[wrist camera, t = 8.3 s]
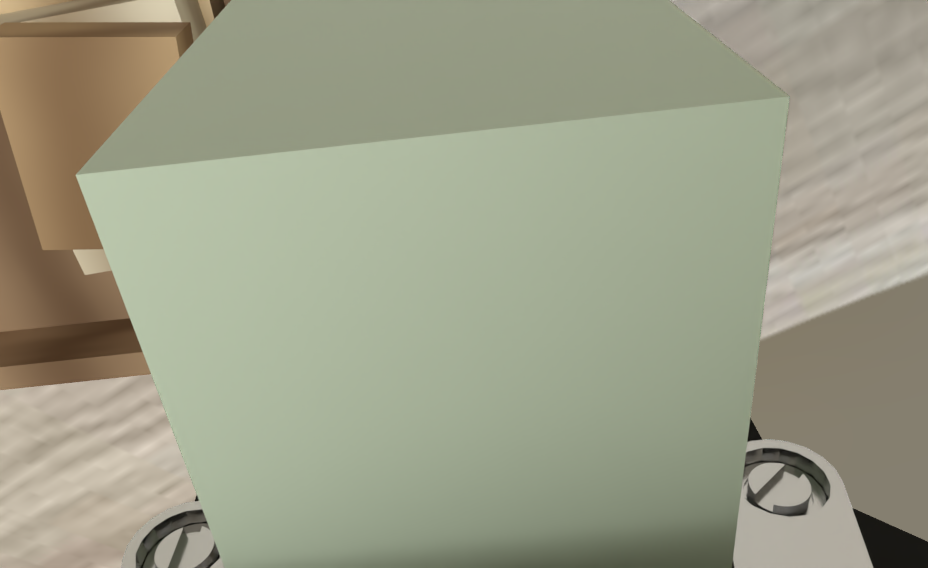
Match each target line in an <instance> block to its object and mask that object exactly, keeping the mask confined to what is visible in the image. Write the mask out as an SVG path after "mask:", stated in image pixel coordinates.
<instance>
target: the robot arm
mask: <svg viewBox="0 0 928 568" xmlns="http://www.w3.org/2000/svg"><path fill="white" fill-rule="evenodd" d="M121 568H225V567H224V565H223V562H222V559H221V557H220V554H219V552H218V549H217V546H216V544H215V541H214V538H213V536H212V533H211V530H210V528H209V525H208V523H207V520H206V517H205V515H204V512H203V509H202V507H201V504H200V501H199V499H198V496H196V499H195V502H187V503H184V504H181V505H178V506H175V507H172V508H170V509H167V510H166V511H164V512H162V513H161V514H159V515H157V516H155V517H154V518H152V519H151V520H150V521H149V522H147V523H146V524H145V525H144V526H143V527H142V528H141V529H140V530H138V531H137V533H136V534H135V535H134V537H133V538H132V540H131V541H130V542H129V544H128V545H127V548H126V551H125V554H124V557H123V560H122V565H121ZM732 568H928V542H927V541H925V540H923V539H921V538H918V537H916V536H914V535H912V534H909V533H907V532H905V531H903V530H900V529H898V528H896V527H894V526H891V525H889V524H887V523H885V522H882V521H880V520H878V519H876V518H873V517H871V516H869V515H866V514H864V513H862V512H860V511H858V510H856V509H853V508H852V507H851V503H850V500H849V498H848V495H847V492H846V489H845V486H844V484H843V481H842V480H841V478H840V476H839V474H838V473H837V471H836V469H835V468H834V467H833V466H832V465H831V464H829V463H828V462H827V461H826V460H825V459H824V458H823V457H822V456H820V455H818V454H816V453H815V452H813V451H811V450H809V449H808V448H806V447H802V446H800V445H796V444H793V443H791V442H787V441H778V440H770V439H767V440H762V439H761V437H760V435H759V433H758V431H757V429H756V427H755V426H754V424H753V422H752V420H751V418H750V424H749V432H748V440H747V448H746V457H745V465H744V473H743V481H742V489H741V497H740V505H739V513H738V521H737V530H736V538H735V546H734V554H733V562H732Z"/></svg>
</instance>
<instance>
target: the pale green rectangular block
mask: <svg viewBox="0 0 928 568" xmlns="http://www.w3.org/2000/svg"><path fill="white" fill-rule="evenodd" d="M789 99H790V96H789V95H787V94H786V93H785V92H784V91H782V90H781V89H780V88H779V87H777V86H776V85H775V84H774V83H772V82H771V81H770V80H769V79H767V78H766V77H765V76H764V75H762V74H761V73H760V72H759V71H757V70H756V69H755V68H753V67H752V66H751V65H750V64H748V63H747V62H746V61H745V60H743V59H742V58H741V57H740V56H738V55H737V54H736V53H735V52H733V51H732V50H731V49H730V48H728V47H727V46H726V45H725V44H723V43H722V42H721V41H720V40H718V39H717V38H716V37H715V36H713V35H712V34H711V33H710V32H708V31H707V30H706V29H704V28H703V27H702V26H701V25H699V24H698V23H697V22H696V21H694V20H693V19H692V18H691V17H689V16H688V15H687V14H686V13H684V12H683V11H682V10H681V9H679V8H678V7H677V6H676V5H674V4H673V3H672V2H671V1H669V0H231V1H230V2H229V3H228V4H227V6H226V7H225V8H224V9H223V10H222V11H221V12H220V13H219V15H218V16H217V17H216V18H215V19H214V20H213V21H212V22H211V23H210V25H209V26H208V27H207V28H206V29H205V30H204V31H203V32H202V34H201V35H200V36H199V37H198V38H197V39H196V40H195V41H194V43H193V44H192V45H191V46H190V47H189V48H188V49H187V50H186V52H185V53H184V54H183V55H182V56H181V57H180V58H179V59H178V61H177V62H176V63H175V64H174V65H173V66H172V67H171V68H170V70H169V71H168V72H167V73H166V74H165V75H164V76H163V77H162V78H161V80H160V81H159V82H158V83H157V84H156V85H155V86H154V87H153V89H152V90H151V91H150V92H149V93H148V94H147V95H146V96H145V98H144V99H143V100H142V101H141V102H140V103H139V104H138V105H137V107H136V108H135V109H134V110H133V111H132V112H131V113H130V114H129V116H128V117H127V118H126V119H125V120H124V121H123V122H122V123H121V124H120V126H119V127H118V128H117V129H116V130H115V131H114V132H113V133H112V135H111V136H110V137H109V138H108V139H107V140H106V141H105V142H104V144H103V145H102V146H101V147H100V148H99V149H98V150H97V151H96V153H95V154H94V155H93V156H92V157H91V158H90V159H89V160H88V162H87V163H86V164H85V165H84V166H83V167H82V168H81V169H80V171H79V172H78V173H77V174H76V178H77V180H78V183H79V185H80V188H81V191H82V193H83V196H84V199H85V201H86V204H87V207H88V209H89V212H90V214H91V217H92V220H93V222H94V225H95V228H96V230H97V233H98V236H99V238H100V241H101V243H102V246H103V249H104V251H105V254H106V257H107V259H108V262H109V264H110V267H111V270H112V272H113V275H114V278H115V280H116V283H117V286H118V288H119V291H120V293H121V296H122V299H123V301H124V304H125V307H126V309H127V312H128V315H129V317H130V320H131V322H132V325H133V328H134V330H135V333H136V336H137V338H138V341H139V343H140V346H141V349H142V351H143V354H144V357H145V359H146V362H147V365H148V367H149V370H150V372H151V375H152V378H153V380H154V383H155V386H156V388H157V391H158V394H159V396H160V399H161V401H162V404H163V407H164V409H165V412H166V415H167V417H168V420H169V422H170V425H171V428H172V430H173V433H174V436H175V438H176V441H177V444H178V446H179V449H180V451H181V454H182V457H183V459H184V462H185V465H186V467H187V470H188V473H189V475H190V478H191V480H192V483H193V486H194V488H195V491H196V494H197V496H198V499H199V501H200V504H201V507H202V509H203V512H204V515H205V517H206V520H207V523H208V525H209V528H210V530H211V533H212V536H213V538H214V541H215V544H216V546H217V549H218V552H219V554H220V557H221V559H222V562H223V565H224V567H225V568H732V562H733V554H734V546H735V538H736V530H737V521H738V513H739V505H740V497H741V489H742V481H743V473H744V465H745V457H746V448H747V440H748V432H749V424H750V416H751V408H752V399H753V391H754V383H755V375H756V367H757V359H758V350H759V343H760V335H761V327H762V319H763V310H764V302H765V294H766V286H767V278H768V270H769V262H770V254H771V246H772V237H773V229H774V221H775V213H776V205H777V197H778V189H779V181H780V172H781V164H782V156H783V148H784V140H785V132H786V124H787V116H788V108H789Z"/></svg>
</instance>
